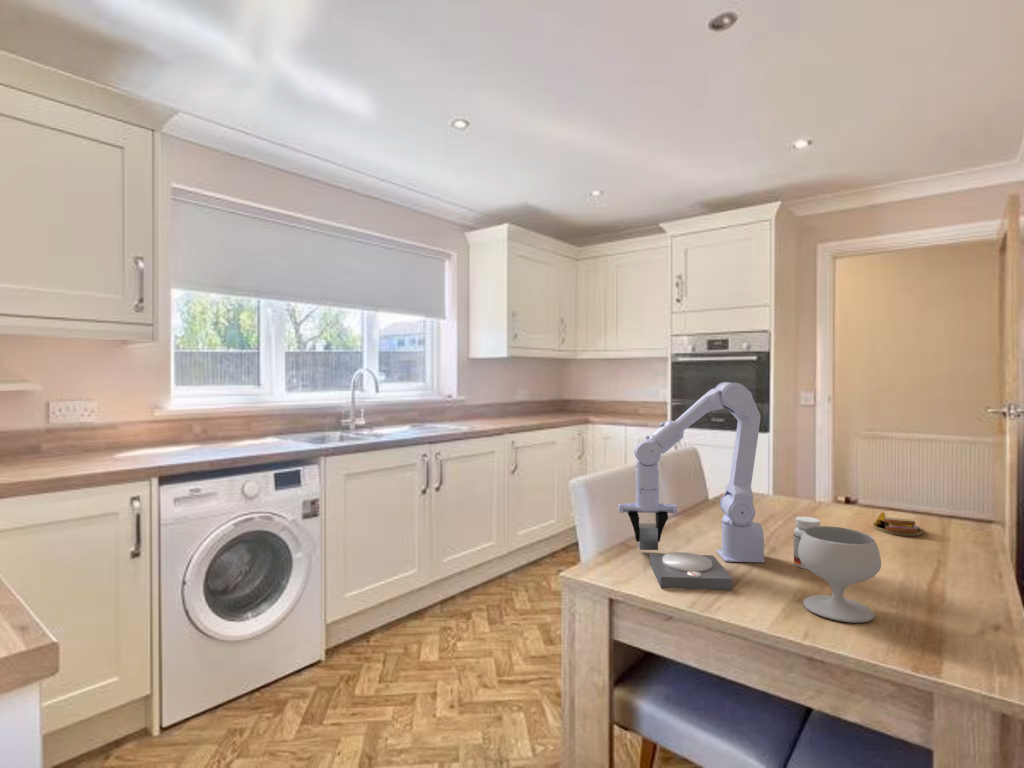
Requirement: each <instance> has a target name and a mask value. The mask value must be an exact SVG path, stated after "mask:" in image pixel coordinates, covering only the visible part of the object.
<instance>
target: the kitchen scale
mask: <svg viewBox="0 0 1024 768" xmlns="http://www.w3.org/2000/svg"><path fill="white" fill-rule="evenodd" d="M649 565H650V568H651V567H652V568H651V570H652V569H653V570H652V571H653V574H654V576H655V578H657V579H656V580H658V581H657V583H658V585H659V587H661V588H660V589H665V588H677V589H676V590H679V589H678V588H682V589H681V590H700V589H710V591H733V578H732V577H731V575H730V574H729V572H728V571H727V570H726V569H725V568H724V567H723V566H722V564H721V563H720V561H718V560H717V559H716V557H715V556H714V555H712V554H710V555H708V554H707V555H706V554H699V553H693V552H687V551H686V552H683V551H681V552H679V551H676V552H670V553H666V554H664V553H650V554H649ZM683 588H684V589H683Z"/></svg>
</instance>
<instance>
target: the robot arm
mask: <svg viewBox="0 0 1024 768" xmlns="http://www.w3.org/2000/svg"><path fill="white" fill-rule="evenodd" d="M724 408H725V410H728V411H729V413H730V414H731V415H732V416H733V417H734V419H736V420H737V424H736V425H737V426H736V430H735V431H736V432H735V437H734V438H735V440H734V446H733V453H732V458H731V459H732V460H731V469H730V475H729V481H728V483H727V485H726V487H725V491H724V494H723V495H722V496H721V498H720V500H719V507H720V509H721V511H722V512H723V513H724V514H723V516H722V518H721V549H716V552H717V554H718V555H719V557H720V558H722V560H723V561H724V562H725V563H728V562H729V563H730V562H731V563H732V562H733V563H735V562H736V563H765V562H766V561H765V559H764V557H765V556H764V555H765V551H764V550H765V548H764V547H765V539H764V538H765V535H764V529H763V526H762V525H761V523H760V522H756V521H755V522H754V521H753V520H754V519H755V516H756V509H755V506H754V503H753V502H754V495H753V491H752V481H753V477H754V476H753V475H754V474H753V473H754V468H755V460H756V453H757V447H758V438H759V432H760V424H761V413H760V411H759V409H758V407H757V405H756V402H755V401H754V397H753V393H752V392H751V391H750V390H749V389H748V388H746V386H745V385H743V384H742V383H739V382H730V381H724V382H719V383H718V384H717V385H716V386H715V387H714V388H711V389H710V390H708V391H706V393H705V394H703V395H702V396H701V397H700V398H699V399H698V400H696V401H695V403H693V404H692V405H691V406H690V407H688V408H687V410H685V412H683V413H682V414H681V415H680V416H679V417H678V418H676V419H675V420H666V421H665V422H663V421H661V422H660V423H659V424H658V425H659V427H658V428H657V429H655V430H654V432H652V433H651V434H649V435H648V434H647V435H645V437H644V438H645V440H642V441H640V442H638V443H637V445H635V449H634V451H633V453H634V456H635V458H636V463H635V467H636V469H635V502H630V503H618V505H617V506H618V508H617V510H618V513H619V514H624V513H627V515H628V517H629V519H630V522H631V525H632V527H633V531H634V537H635V542H637V543H638V542H639V523H640V516H639V513H642V514H643V513H644V514H645V513H646V514H647V513H648V514H649V513H650V514H653V513H654V515H655V525H656V526H657V528H658V543H660V541H661V537H662V532H663V529H664V527H665V525H666V523H667V522H668V519H669V514H674V515H676V514H677V515H678V505H676V504H672V503H670V504H669V503H660V489H659V487H660V486H659V485H660V483H659V482H660V481H659V478H660V475H659V473H660V472H659V462H660V459H661V456H662V455H663V454H666V452H668V451H669V450H670V449H671V448H673V447H674V446H675V445H676V444H677V443H679V442H680V441H681V440H682V439H683V438H684V433H685V430H686V429H688V428H689V427H690V426H692V425H693V424H695V423H696V422H697V421H698V420H699V419H701V418H702V417H704V416H705V415H706V414H707V413H709V412H711V411H718V410H724Z"/></svg>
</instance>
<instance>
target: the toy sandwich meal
mask: <svg viewBox="0 0 1024 768" xmlns="http://www.w3.org/2000/svg"><path fill="white" fill-rule="evenodd" d="M872 526H873V527H874V528H875V529H876V530H878V531H879V532H882V533H886V534H890V535H895V536H904V537H917V536H921V535H922V534H924V533H925V532H926V531H925V529H924V528H923V527H920V526H918V525H916V521H915V520H914V519H907V518H906V519H905V518H898V517H889V516H887V517H886V513H885V512H883V511H882V512H881V513H880V514H879V515H878V517H877V519H876V520H875V521H874V522H872Z"/></svg>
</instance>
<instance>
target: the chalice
mask: <svg viewBox="0 0 1024 768" xmlns="http://www.w3.org/2000/svg"><path fill="white" fill-rule="evenodd" d="M798 556H799V558H800V561H801V562H802V564H803V565H804V566H805V567H806V568H807V569H806V570H808V569H809V570H808V571H810V572H811V573H813V574H814V575H816V576H818V577H820V578H822V579H823V580H824V581H825V582H827V583H828V584H829V586H830V587H831V590H832V593H831V595H826V594H818V595H817V594H816V595H810V596H808V597H806V598H804V599H803V601H802V605H803V606H804V607H805V608H806V609H807V610H808V611H809V612H810V613H813V614H815V615H818V616H820V617H823V618H826V619H829V620H834V621H838V622H845V623H854V624H855V623H857V624H858V623H866V622H870V621H872V620H874V619H875V618H876V617H875V616H876V614H875V612H874V611H873V610H872V609H871V608H869V607H868V606H867V605H864V604H863V603H860V602H859V601H856V600H853V599H851V598H846V597H845V596H844V592H845V590H846V589H847V588H848V587H849V586H851V585H853V584H856V583H860V582H865V581H867V580H870V579H872V578H874V577H875V576H877V574H878V573H880V570H881V568H882V558H881V554H880V550H879V546H878V544H877V542H876V541H875V539H874V538H873V536H871V535H870V534H868V533H866V532H862V531H860V530H859V531H858V530H856V529H851V528H846V527H840V526H839V527H837V526H828V525H824V526H823V525H820V526H817V527H810V528H807V529H806V530H805V531H804V532H803V534H802V536H801V539H800V542H799V547H798Z"/></svg>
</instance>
